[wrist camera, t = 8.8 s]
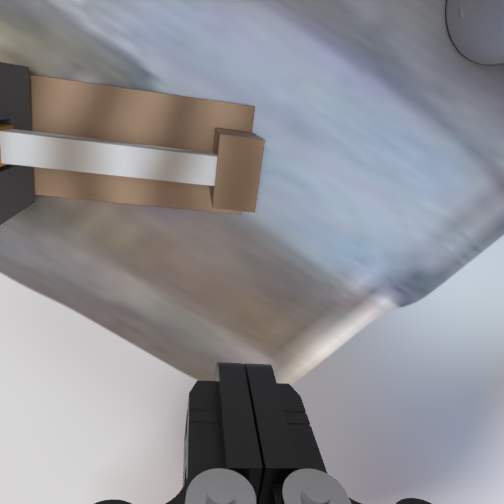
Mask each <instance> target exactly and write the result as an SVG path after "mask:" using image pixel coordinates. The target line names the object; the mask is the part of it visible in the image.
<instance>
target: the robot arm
mask: <svg viewBox="0 0 504 504" xmlns="http://www.w3.org/2000/svg"><path fill="white" fill-rule="evenodd" d="M446 16H447V25H448V30H449V34H450V36H451V38H452V41H453V43H454V45H455V46H456V47H457V49H458V50H459V51H460V53H462V54H463V55H464V56H465V57H466V58H468V59H469V60H471V61H474V62H476V63H479V64H485V65H493V64H503V63H504V0H447V6H446ZM184 439H185V440H184V471H183V488H182V490H181V491H180V493H179V494H178V495H177V496H176V497H175V498H173V499H172V500H171V501H169V502H168V503H166V504H361V503H358V502H356V501H354V500H352V499H350V498H349V497H348V495H347V493H346V491H345V489H344V488H343V487H342V486H341V484H340V483H339V482H338V481H337V480H336V479H334V478H333V477H332V476H330V475H329V474H327V472H326V469H325V466H324V463H323V460H322V457H321V454H320V452H319V448H318V446H317V443H316V440H315V437H314V435H313V431H312V428H311V427H310V423H309V420H308V417H307V415H306V414H305V408H304V406H303V403H302V400H301V397H300V396H299V394H298V393H297V392H296V391H295V390H294V389H293V388H292V387H291V386H290V385H289V384H278V383H276V380H275V376H274V373H273V369H272V366H271V365H266V364H241V363H218V362H217V364H216V370H215V377H214V381H197V382H196V384H195V385H194V387H193V388H192V390H191V391H190V393H189V402H188V410H187V420H186V429H185V438H184ZM95 504H131V503H129V502H126V501H122V500H105V501H101V502H97V503H95ZM396 504H431V503H429V502H426V501H424V500H420V499H415V498H406V499H402V500H401V501H398V502H397V503H396Z"/></svg>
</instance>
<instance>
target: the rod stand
mask: <svg viewBox="0 0 504 504" xmlns="http://www.w3.org/2000/svg"><path fill="white" fill-rule="evenodd" d="M29 80H30V106H31V131H27V130H19V129H13V125H6V124H0V167H2V166H4V165H7V164H12V165H21V166H31V167H33V186H34V195H44V196H54V197H64V198H75V199H85V200H96V201H106V202H116V203H127V204H137V205H147V206H158V207H168V208H178V209H189V210H199V211H210V212H220V213H230V214H241V211H246V212H255V207H256V200H257V193H258V186H259V178H260V171H261V164H262V157H263V150H264V142H265V140H264V139H262V138H260V137H259V136H257V135H256V134H254V133H252V125H253V118H254V110H255V106H248V105H241V104H234V103H227V102H220V101H213V100H206V99H199V98H192V97H184V96H177V95H170V94H163V93H156V92H149V91H142V90H135V89H128V88H121V87H113V86H106V85H99V84H92V83H85V82H78V81H71V80H64V79H57V78H50V77H42V76H35V75H29Z"/></svg>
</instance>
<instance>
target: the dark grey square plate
mask: <svg viewBox="0 0 504 504" xmlns="http://www.w3.org/2000/svg"><path fill="white" fill-rule="evenodd" d="M0 124H6V125H13V129H19V130H27V131H31V106H30V80H29V67H24V66H19V65H13V64H7V63H2V62H0ZM32 203H34V186H33V167H31V166H21V165H12V164H7V165H4V166H2V167H0V225H1V224H2V223H4V222H5V221H7V220H8V219H10V218H11V217H13V216H14V215H16V214H17V213H19V212H20V211H22V210H23V209H25V208H26V207H28V206H29V205H31V204H32Z"/></svg>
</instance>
